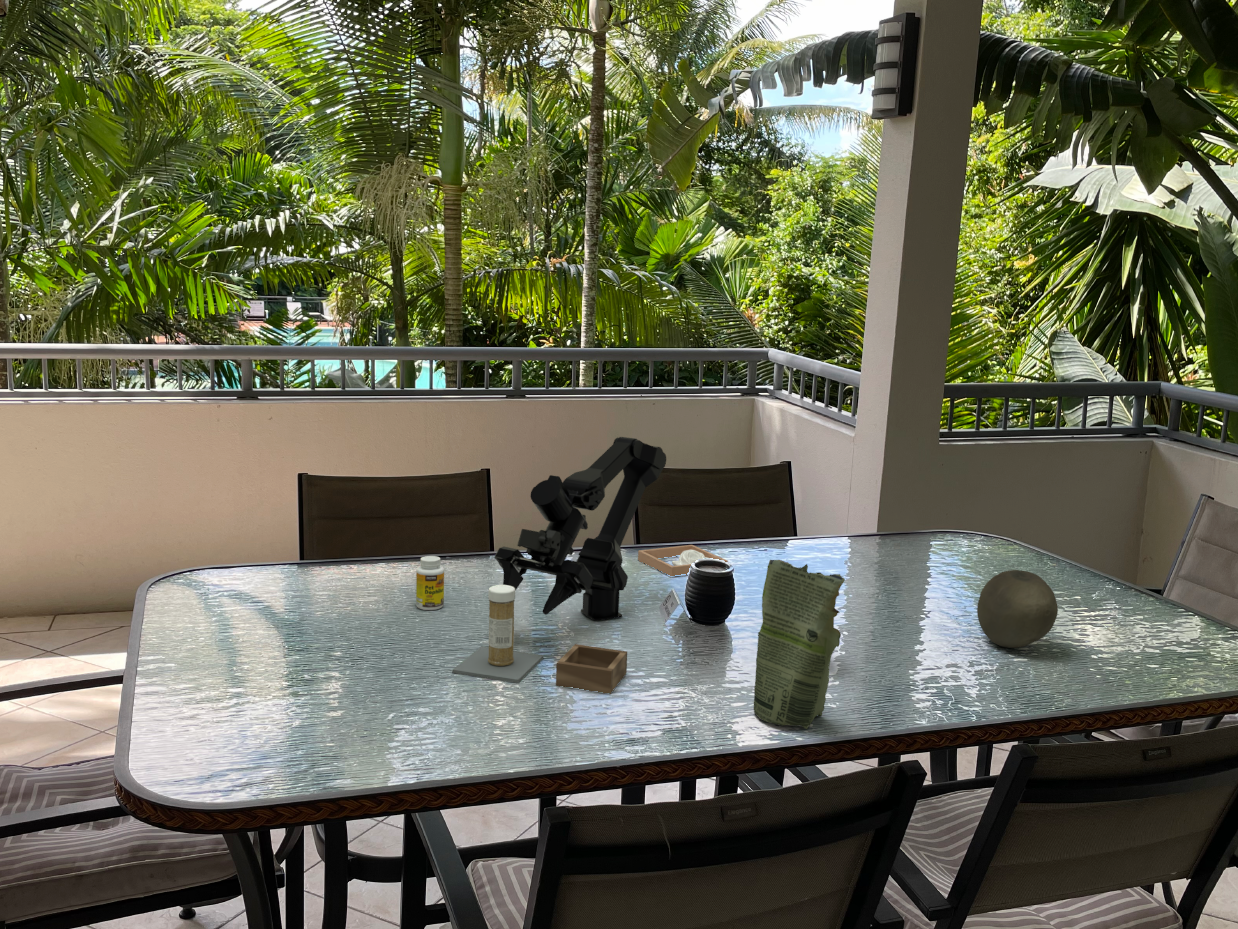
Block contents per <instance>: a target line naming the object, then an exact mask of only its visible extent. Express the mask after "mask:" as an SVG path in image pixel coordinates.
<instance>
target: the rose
mask: <svg viewBox="0 0 1238 929" xmlns="http://www.w3.org/2000/svg"><path fill="white" fill-rule="evenodd" d="M703 558H707V557H705V556H704V555H703V554H702V553H700V552H698V551H696V550H685V551H683V552H682V553H681V555H680V557H678V560H673V561H671V563H672V564H671V565H672V566H678V565H687V564H692V563H693V562H695V561H696V560H698V559H703Z"/></svg>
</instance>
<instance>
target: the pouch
mask: <svg viewBox="0 0 1238 929" xmlns="http://www.w3.org/2000/svg"><path fill="white" fill-rule="evenodd" d="M808 568H809V566H808V563H806V564H804V565H803V566H802V567H801V566H800V567H797V566H794V565H793V564H792V563H790V562H788V561H787V562H786V561H784V560H780V559H769V561H768V564H767V569H766V576H765V581H764V585H763V589H762V590H763V591H762V596H761V615H762V623H761V627H760V630H759V631H758V632H757V651H756V658H755V660H756V661H755V664H756V666H755V667H756V668H755V679H754V680H755V681H754V686H753V688H754V693H753V694H754V695H753V696H754V697H753V712H754V714H755V715H756V716H757V717H759V719H760V720H762V721H763V722H765V723H766V722H767V723H770V724H774V725H778V726H795V727H802V728H803V729H804V730H805V729H806V730H808V728H809V727H810V726H811V724H812V722H813V721H814V719H815V718H816V717H822V716H823V712H824V711H825V703H826V701H827V700H826V699H827V698H826V697H827V696H826V694H827V691H828V688H829V682H830V676H829V675H830V665H831V664H830V663H831V658H832V655H833V653H834V651H835V650H836V648H838V647H839V646H840V642H841V641H840V639H841V636H842V634H841V632H840V630H839V629H838V628H836V627H835V626H834V625H835V623H834V622H835V618H836V617H837V616H838V614H840V611H839V610H838V609H836V608H835V607H836V603H837V599H838V598H837V597H839V596H840V589H841V587H842V585H843V584H844V582H845V580H846V578H844V577H843V576H842V575H841V574H840V573H839V574H838V573H833V574H831V573H830V574H829V575H827V574H826V575H825V574H823V573H822V572H820V571H819V572H808ZM817 715H818V716H817Z"/></svg>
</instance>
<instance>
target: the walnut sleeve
mask: <svg viewBox="0 0 1238 929" xmlns="http://www.w3.org/2000/svg"><path fill="white" fill-rule="evenodd" d="M555 664H556V666H555V667H556V668H555V669H556V670H555V671H556V672H555V673H556V674H555V687H560V686H563V687H562V688H566V687H573V688H579V689H584V690H583V691H586V690H589V691H588V692H592V691H598V692H597V693H599V692H603V693H602V694H605V693H610V694H609V695H612V693H613V692H614V690H615V689H616V688H617V687H618V685H619V684H620V683H621V681H623V679H624V677H626V675H627V674H626V673H627V672H628V651H627V650H620V649H612V648H605V647H598V646H591V645H584V644H577V643H575V644H574V645H572V646H571V648H570V649H569V650H568V651H567V652H565V654H564V655H562V657H561V658H560V659H559V660H558V661H557V662H556V663H555ZM619 682H620V683H619ZM618 683H619V684H618ZM617 684H618V685H617ZM616 686H617V687H616ZM615 687H616V688H615ZM573 688H572V689H573ZM614 688H615V689H614ZM579 689H578V690H579ZM613 689H614V690H613ZM612 691H613V692H612ZM611 692H612V693H611Z"/></svg>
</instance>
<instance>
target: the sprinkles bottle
mask: <svg viewBox="0 0 1238 929" xmlns="http://www.w3.org/2000/svg"><path fill="white" fill-rule="evenodd" d="M487 596H488V602H489V606H488V607H489V615H488V647H489V658H488V662H489V663H490V664H492V665H495V666H506V665H510V664H511V663H513V661H514V658H513V651H514V644H515V599H516V591H515V588H514V587H512V586H509V585H503V584H496V585H492V586H490V587H489V588H488V595H487Z"/></svg>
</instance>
